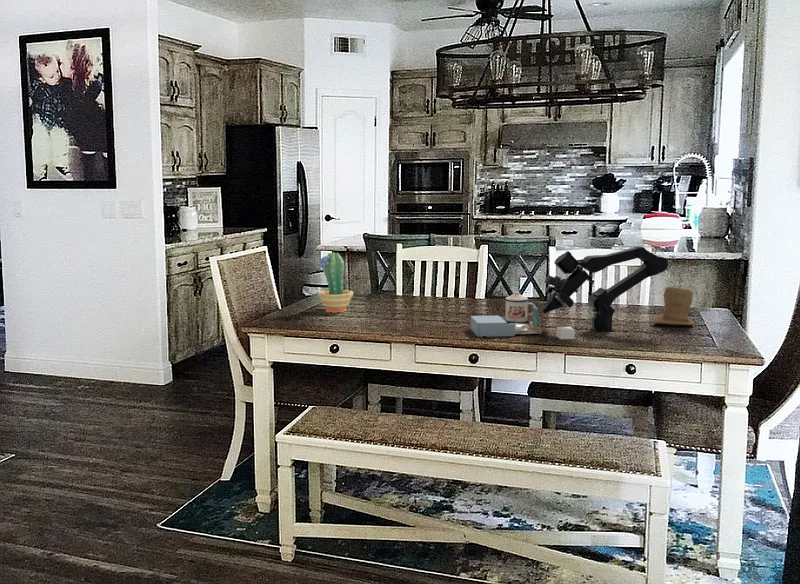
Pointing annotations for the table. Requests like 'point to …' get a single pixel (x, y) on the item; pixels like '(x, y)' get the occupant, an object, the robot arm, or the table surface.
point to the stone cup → (675, 307)
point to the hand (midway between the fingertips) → (542, 312)
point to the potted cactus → (334, 284)
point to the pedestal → (565, 333)
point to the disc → (519, 326)
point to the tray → (531, 325)
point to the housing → (491, 326)
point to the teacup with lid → (517, 308)
